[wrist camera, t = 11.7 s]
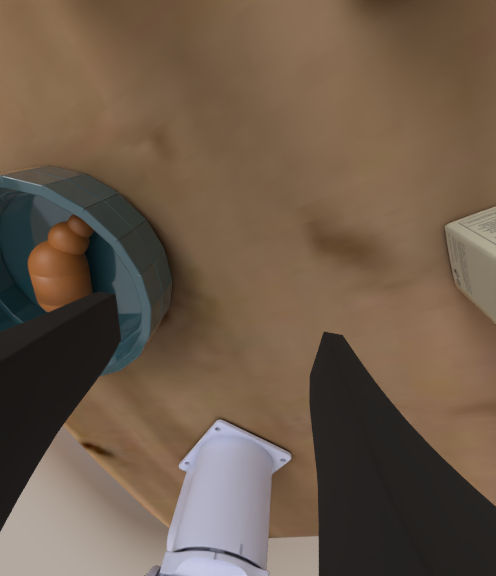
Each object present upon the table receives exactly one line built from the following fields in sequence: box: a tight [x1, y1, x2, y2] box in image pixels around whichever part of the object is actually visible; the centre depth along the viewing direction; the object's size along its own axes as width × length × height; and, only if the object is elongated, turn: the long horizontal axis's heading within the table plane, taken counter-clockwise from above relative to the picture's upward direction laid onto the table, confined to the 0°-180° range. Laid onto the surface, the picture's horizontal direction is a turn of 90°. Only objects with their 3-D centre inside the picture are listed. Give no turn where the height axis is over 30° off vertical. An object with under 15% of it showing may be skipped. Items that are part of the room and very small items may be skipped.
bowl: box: [0, 166, 172, 376], centre depth 19 cm, size 13×13×4 cm
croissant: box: [28, 214, 94, 312], centre depth 19 cm, size 4×8×3 cm, turn 173°
